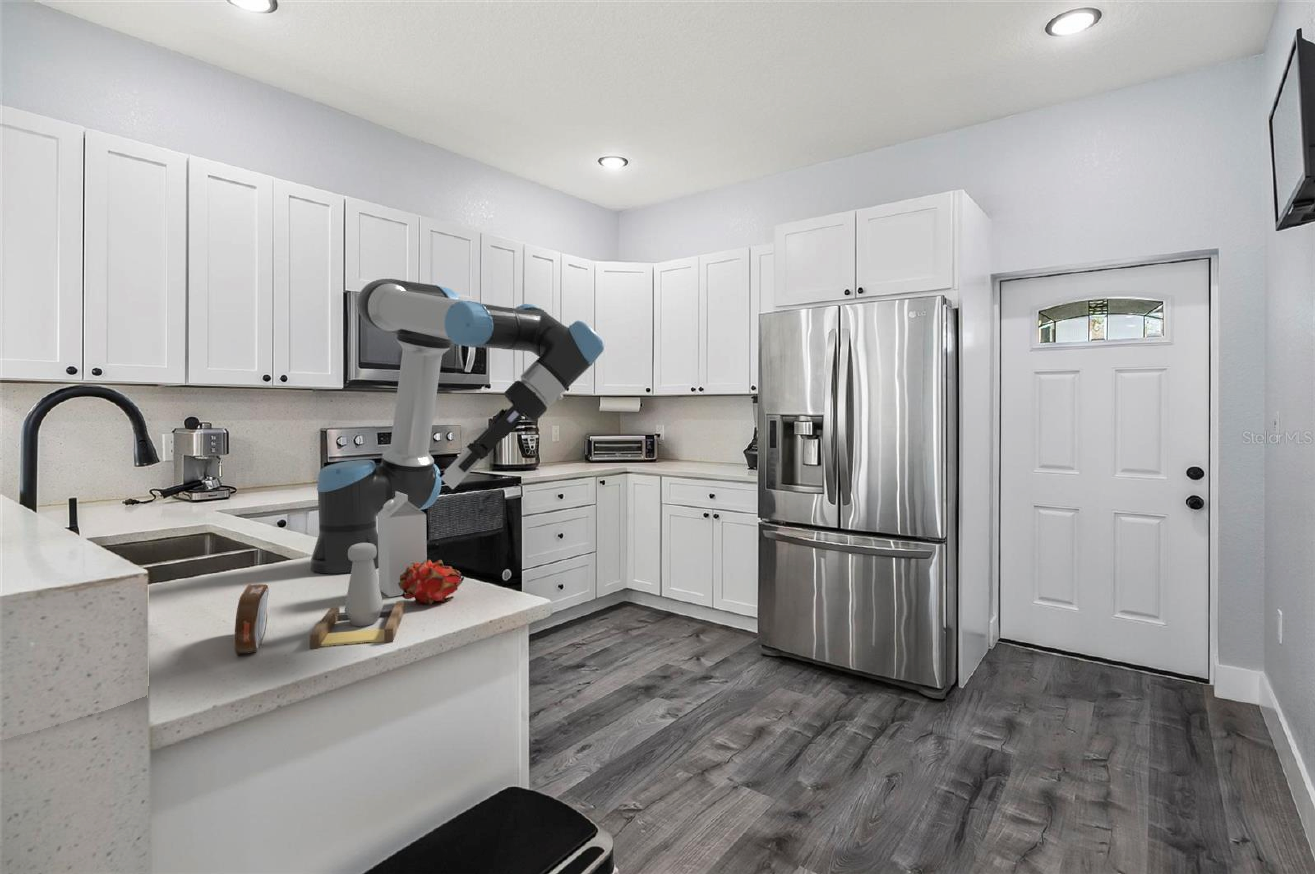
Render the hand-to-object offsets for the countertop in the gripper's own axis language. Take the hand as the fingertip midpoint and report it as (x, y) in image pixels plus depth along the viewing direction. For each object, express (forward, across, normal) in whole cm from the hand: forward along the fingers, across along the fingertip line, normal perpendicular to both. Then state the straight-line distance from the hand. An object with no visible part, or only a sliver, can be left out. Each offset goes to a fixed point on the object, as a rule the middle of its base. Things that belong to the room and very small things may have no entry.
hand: (447, 480), depth 117 cm
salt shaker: (+26, -3, -6) cm, 27 cm away
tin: (+36, -10, +4) cm, 37 cm away
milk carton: (+23, +16, -9) cm, 29 cm away
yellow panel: (+26, -11, -6) cm, 29 cm away
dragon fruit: (+19, +7, -14) cm, 24 cm away
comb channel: (+26, -7, -6) cm, 27 cm away
